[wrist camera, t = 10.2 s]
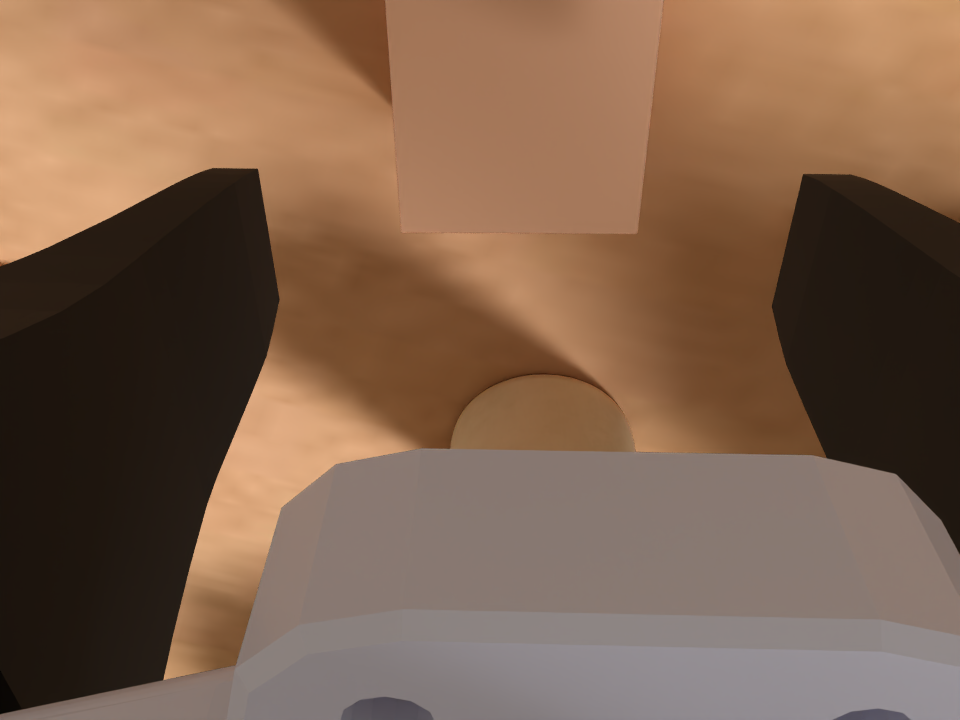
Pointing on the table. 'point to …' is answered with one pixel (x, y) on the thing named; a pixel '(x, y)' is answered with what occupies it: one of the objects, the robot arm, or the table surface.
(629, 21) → the terracotta block
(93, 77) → the table surface
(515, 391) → the candle
